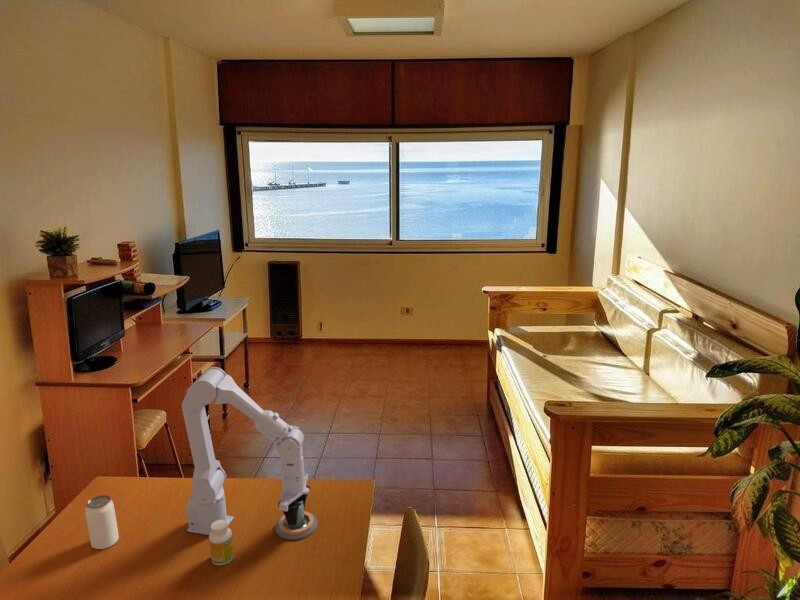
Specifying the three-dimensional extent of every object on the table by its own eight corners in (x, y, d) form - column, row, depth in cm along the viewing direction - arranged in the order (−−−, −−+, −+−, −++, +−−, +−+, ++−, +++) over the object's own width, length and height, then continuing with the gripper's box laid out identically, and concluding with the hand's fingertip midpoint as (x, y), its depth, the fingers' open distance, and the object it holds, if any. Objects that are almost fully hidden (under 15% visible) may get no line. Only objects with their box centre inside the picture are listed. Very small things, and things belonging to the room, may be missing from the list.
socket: (268, 536, 151) (268, 531, 150) (285, 511, 161) (285, 506, 160) (308, 542, 148) (307, 537, 148) (323, 516, 158) (322, 511, 158)
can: (124, 537, 151) (118, 497, 147) (103, 553, 145) (96, 512, 142) (107, 531, 153) (100, 491, 150) (85, 546, 148) (78, 505, 144)
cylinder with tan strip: (293, 531, 151) (292, 512, 150) (284, 523, 154) (283, 504, 153) (308, 523, 154) (307, 504, 153) (298, 516, 157) (297, 497, 156)
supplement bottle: (227, 567, 140) (224, 533, 137) (207, 564, 141) (203, 530, 138) (238, 552, 145) (234, 519, 142) (218, 549, 146) (214, 516, 143)
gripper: (296, 491, 143) (299, 538, 146) (317, 460, 156) (319, 504, 160) (270, 487, 144) (273, 534, 148) (293, 457, 158) (295, 501, 161)
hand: (296, 518), depth 154 cm, fingers closed on cylinder with tan strip, 4 cm apart
